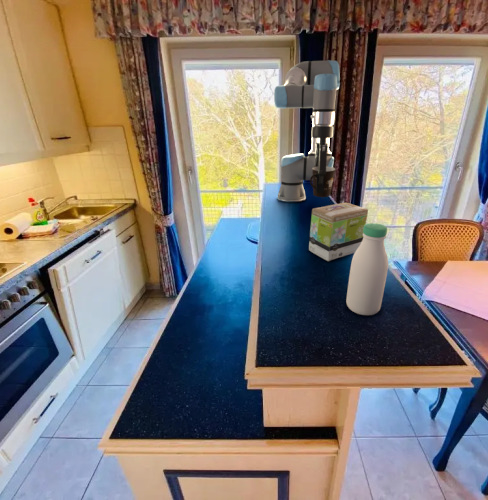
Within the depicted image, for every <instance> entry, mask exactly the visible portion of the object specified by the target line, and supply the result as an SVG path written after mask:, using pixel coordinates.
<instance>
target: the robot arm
mask: <svg viewBox="0 0 488 500" xmlns="http://www.w3.org/2000/svg"><path fill="white" fill-rule="evenodd" d="M340 72H341V71H340V64H339V62H338V61H337V60H330V59H327V60H312V61H311V60H307V61H301V62H298V63H297V64H295V65H293V66H291V68H289V69H288V70H287V72H286V75H285V78H284V79H285V80H284V81H285V82H284V84H282V85H276V86H275V87H274V95H273V96H274V97H273V99H274V101H273V102H274V106H275V108H277V109H283V110H286V109H312V115H310V119H311V121H312V123H311V124H312V127H311V149H310V151H309V152H308V154H307V156H305V154H304V153H293V154H288V155H284V156H283V157H282V158H281V160H280V187H279V190H278V193H277V200H278V202H283V203H289V204H291V203H292V204H293V203H294V204H295V203H301V202H305V201H306V199H307V196H306V191H305V189H304V181H310V178H311V176H312V175H313V174H312V168H313V167H318V173H316V175H317V185H316V193H324V179H325V174H326V167H333V168H334V162H335V157H334V156H332V152H331V151H330V148H329V147H330V138H333V136H334V126H333V125H334V124H335V115H336V113H335V111H336V110H335V109H336V102H337V101H336V99H337V90H339V89H340V85H341V82H340V80H341V77H340V76H341V75H340ZM312 181H313V178H312Z"/></svg>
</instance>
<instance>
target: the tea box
mask: <svg viewBox="0 0 488 500" xmlns="http://www.w3.org/2000/svg"><path fill="white" fill-rule="evenodd" d="M368 214H369V209H368V208H365V207H362V206H359V205H355V204H352V203H350V202H346V201H345V202H341V203H335V204H330V205H325V206H321V207H314V208H312V209H311V218H310V230H309V241H308V242H309V243H308V251H310V252H311V253H313V254H314V255H316V256H318V257H319V258H321V259H323V260H325V261H327V262H331V261H333V260H336V259H338V258H343V257H346V256H348V255H352V254H355V252H356V250H357V249H358V247H359V246H360V244H361V242H362V240H363V237H364V236H363V228H364V225H366V224H367V219H368Z"/></svg>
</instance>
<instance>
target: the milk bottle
mask: <svg viewBox="0 0 488 500" xmlns="http://www.w3.org/2000/svg"><path fill="white" fill-rule="evenodd" d="M387 235H388V227H387V226H386V225H384V224H381V223H375V222H369V223H366V225H364V228H363V236H364V237H363V240H362V242H361V244H360V246H359V247H358V249H357V250H356V252H355V253H353V255H352V259H351V264H350V268H349V276H348V283H347V293H346V299H345V300H346V301H345V302H346V306H347V307H348V309H349V310H350V311H352V312H354V313H355V314H357V315H362V316H374V315H375V314H377V313H379V311H380V310H381V307H382V303H383V297H384V291H385V287H386V283H387V282H386V281H387V276H388V270H389V258H388V253H387V251H386V246H385V239H386V238H387Z"/></svg>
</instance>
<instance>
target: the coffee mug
mask: <svg viewBox="0 0 488 500" xmlns="http://www.w3.org/2000/svg"><path fill="white" fill-rule="evenodd" d="M316 173H318V167H313V168H312V174H313V175H312V176H311V178H310V180H309V184H310V186H311V187H312V191H313V192H312V193H313V194H312V195H313V196H314V197H317V198H327V197H330V196H331V191H332V187H333V182H334V179H335V173H336V168H335V167H334V166H333V167H326V174H325V179H324V193H316V185H317V175H316ZM312 178H313V180H312Z"/></svg>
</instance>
